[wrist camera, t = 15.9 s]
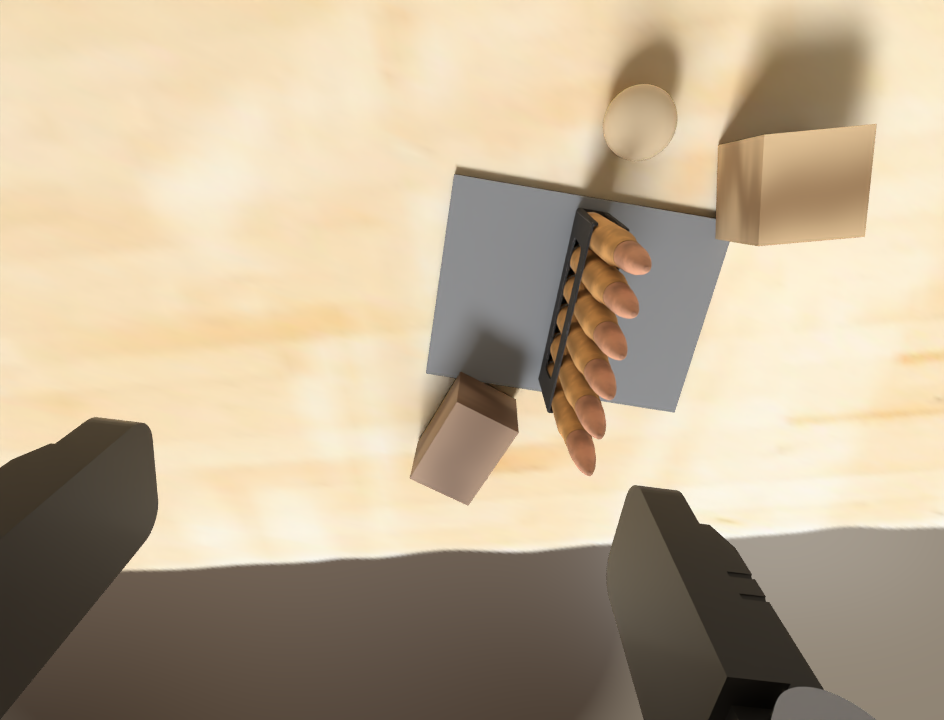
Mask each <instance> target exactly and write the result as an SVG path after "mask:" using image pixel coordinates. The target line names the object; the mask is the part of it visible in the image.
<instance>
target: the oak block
mask: <svg viewBox="0 0 944 720" xmlns="http://www.w3.org/2000/svg"><path fill="white" fill-rule="evenodd" d="M876 125H877V124H871V125H860V126H850V127H839V128H829V129H818V130H807V131H797V132H786V133H776V134H765V135H760V136H756V137H752V138H747V139H743V140H738V141H734V142H730V143H725V144H721V145H718V171H717V202H716V234H715V239H718V240H724V241H730V242H736V243H742V244H748V245H755V246H765V245H777V244H788V243H799V242H811V241H822V240H833V239H845V238H856V237H865V230H866V220H867V210H868V201H869V191H870V182H871V172H872V163H873V153H874V144H875V134H876Z"/></svg>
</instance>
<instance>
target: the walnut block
mask: <svg viewBox="0 0 944 720" xmlns="http://www.w3.org/2000/svg"><path fill="white" fill-rule="evenodd" d="M518 433H519V432H518V420H517V408H516V399H514V398H512V397H510V396H508V395H506V394H504V393H502V392H500V391H498V390H496V389H494V388H492V387H490V386H488V385H486V384H484V383H482V382H480V381H479V380H477V379H475V378H473V377H471V376H469V375H467V374H465V373H463V372H460V373H459V375H458V377H457V378H456V380H455V381H454V383H453V385H452V386H451V388H450V390H449V391H448V393H447V395H446V396H445V398H444V400H443V401H442V403H441V405H440V406H439V408H438V410H437V411H436V413H435V415H434V416H433V418H432V420H431V421H430V423H429V425H428V426H427V428H426V430H425V431H424V433H423V435H422V436H421V438H420V439H419V441H418V444H417V448H416V453H415V457H414V462H413V466H412V471H411V475H410V479H412V480H414V481H416V482H418V483H420V484H423V485H425V486H427V487H429V488H431V489H433V490H436V491H438V492H440V493H442V494H444V495H446V496H449V497H451V498H453V499H455V500H457V501H459V502H462V503H464V504H466V505H469V504H470V502H471V501H472V500H473V498H474V497H475V495H476V494H477V492H478V491H479V489H480V488H481V486H482V485H483V484H484V482H485V481H486V479H487V478H488V476H489V475H490V473H491V472H492V471H493V469H494V468H495V466H496V465H497V463H498V462H499V460H500V459H501V457H502V456H503V455H504V453H505V452H506V450H507V449H508V447H509V446H510V444H511V443H512V442H513V440H514V439H515V437H516V436H517V434H518Z"/></svg>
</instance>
